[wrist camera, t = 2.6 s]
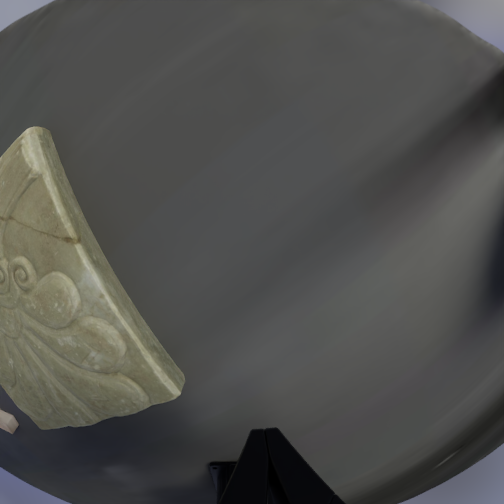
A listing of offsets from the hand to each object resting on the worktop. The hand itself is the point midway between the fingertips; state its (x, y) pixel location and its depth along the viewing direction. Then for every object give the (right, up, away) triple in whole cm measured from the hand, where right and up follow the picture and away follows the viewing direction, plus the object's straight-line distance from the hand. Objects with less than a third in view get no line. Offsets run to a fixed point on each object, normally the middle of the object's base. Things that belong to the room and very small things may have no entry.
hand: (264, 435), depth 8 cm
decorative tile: (-18, +2, +9) cm, 20 cm away
